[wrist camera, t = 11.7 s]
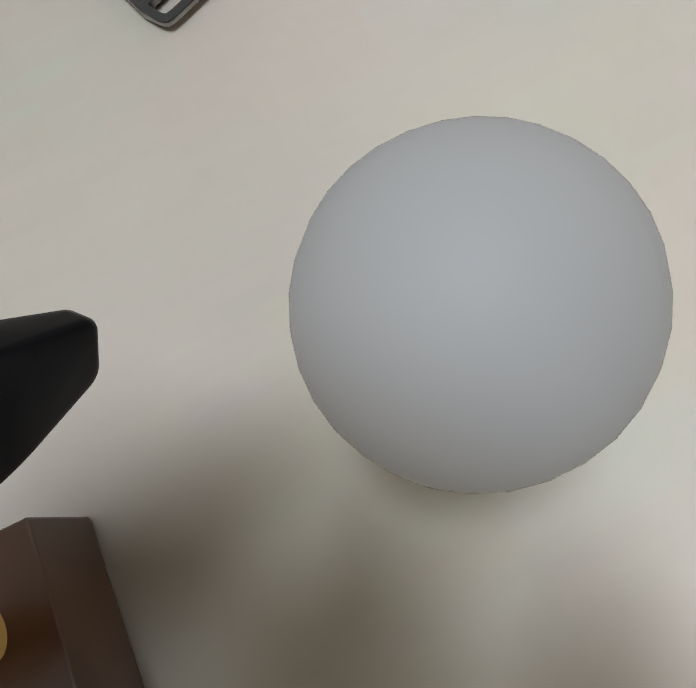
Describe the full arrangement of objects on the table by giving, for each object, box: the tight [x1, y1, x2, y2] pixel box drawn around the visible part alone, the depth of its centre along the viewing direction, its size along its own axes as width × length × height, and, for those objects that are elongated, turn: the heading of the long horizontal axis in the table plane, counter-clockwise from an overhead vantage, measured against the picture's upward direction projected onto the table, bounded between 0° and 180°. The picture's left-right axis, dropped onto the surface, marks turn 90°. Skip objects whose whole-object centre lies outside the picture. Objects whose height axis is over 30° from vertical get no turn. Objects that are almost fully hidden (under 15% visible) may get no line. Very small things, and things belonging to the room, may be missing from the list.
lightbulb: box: [289, 116, 673, 494], centre depth 13 cm, size 6×6×11 cm
